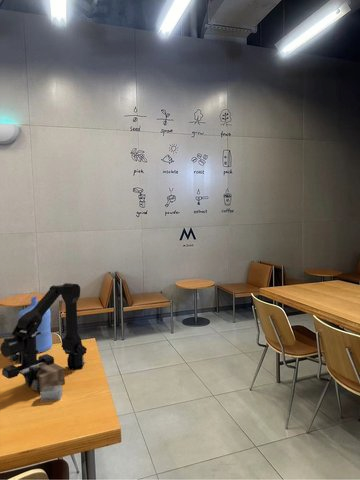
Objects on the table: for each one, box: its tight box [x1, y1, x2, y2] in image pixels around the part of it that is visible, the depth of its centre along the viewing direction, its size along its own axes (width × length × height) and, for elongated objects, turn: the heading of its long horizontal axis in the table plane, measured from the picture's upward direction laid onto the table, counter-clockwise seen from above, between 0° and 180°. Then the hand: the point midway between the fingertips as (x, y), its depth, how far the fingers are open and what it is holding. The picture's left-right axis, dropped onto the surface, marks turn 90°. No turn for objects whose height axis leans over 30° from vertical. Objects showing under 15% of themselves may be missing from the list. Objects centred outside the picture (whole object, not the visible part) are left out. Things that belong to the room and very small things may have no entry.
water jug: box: [18, 296, 53, 354], centre depth 178 cm, size 16×16×28 cm
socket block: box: [24, 362, 66, 394], centre depth 140 cm, size 10×14×7 cm
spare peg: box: [39, 385, 63, 402], centre depth 129 cm, size 7×4×4 cm, turn 97°
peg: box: [30, 378, 39, 391], centre depth 137 cm, size 7×4×4 cm, turn 141°
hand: (29, 386), depth 133 cm, fingers closed
